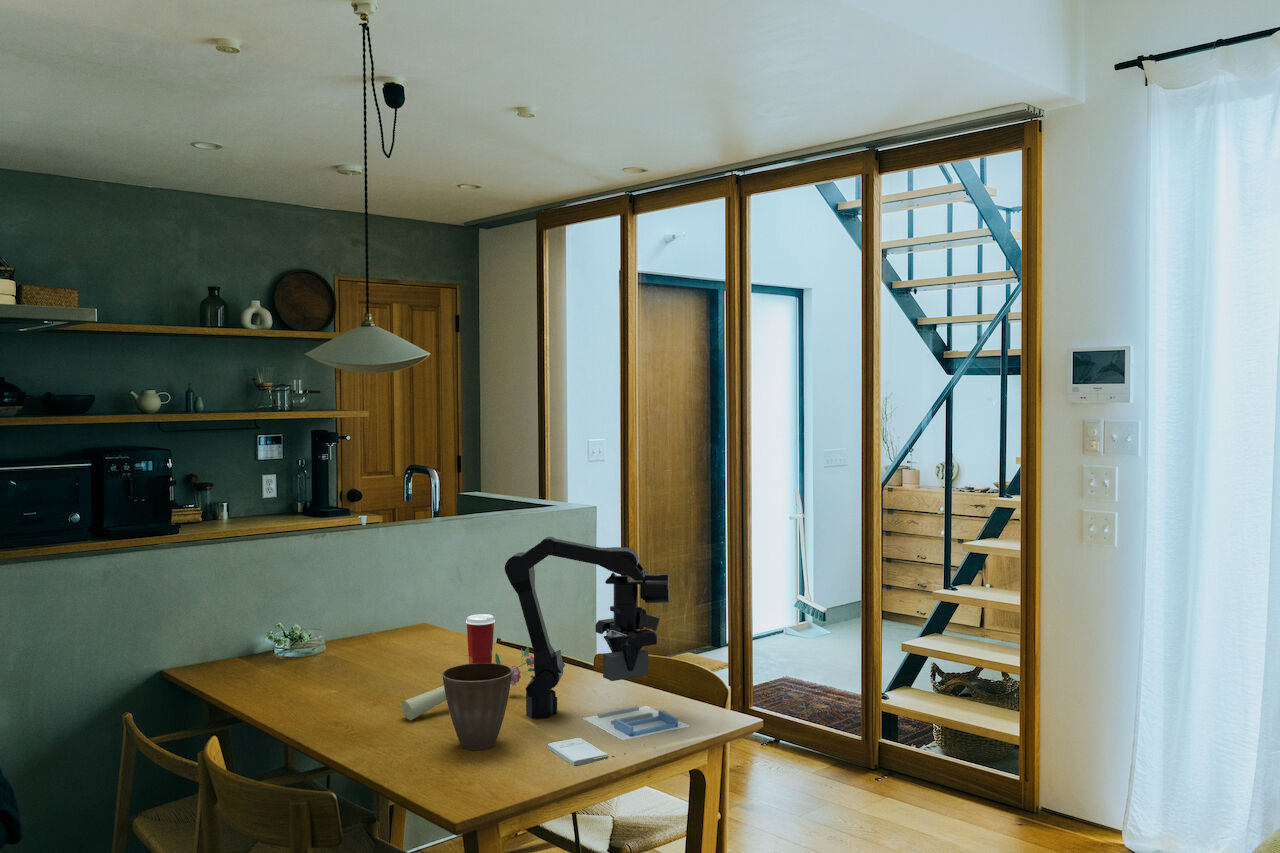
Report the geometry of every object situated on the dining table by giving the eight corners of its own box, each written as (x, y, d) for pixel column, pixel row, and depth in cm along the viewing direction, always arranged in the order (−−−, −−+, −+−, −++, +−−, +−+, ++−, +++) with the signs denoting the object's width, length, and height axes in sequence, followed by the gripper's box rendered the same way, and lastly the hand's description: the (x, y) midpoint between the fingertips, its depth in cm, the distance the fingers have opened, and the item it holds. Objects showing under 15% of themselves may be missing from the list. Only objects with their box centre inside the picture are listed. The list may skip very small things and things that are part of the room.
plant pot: (450, 760, 203) (450, 684, 203) (435, 738, 217) (435, 666, 217) (520, 751, 209) (520, 676, 209) (501, 729, 223) (501, 660, 223)
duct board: (622, 743, 214) (622, 731, 214) (582, 721, 229) (582, 709, 229) (689, 729, 224) (690, 717, 224) (646, 709, 239) (646, 697, 239)
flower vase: (408, 746, 234) (525, 686, 257) (431, 744, 224) (550, 682, 248) (392, 699, 234) (509, 644, 257) (413, 695, 225) (533, 638, 248)
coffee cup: (501, 669, 275) (501, 615, 275) (481, 675, 268) (481, 621, 268) (478, 664, 280) (478, 612, 279) (458, 671, 273) (458, 617, 272)
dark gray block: (611, 681, 226) (611, 657, 226) (603, 677, 229) (603, 653, 229) (648, 674, 231) (648, 651, 231) (639, 671, 234) (639, 648, 234)
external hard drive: (573, 768, 201) (547, 750, 211) (608, 761, 205) (580, 743, 216) (573, 760, 201) (547, 742, 211) (608, 753, 205) (580, 736, 216)
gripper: (676, 605, 226) (676, 672, 226) (633, 592, 242) (633, 655, 242) (636, 610, 220) (635, 680, 220) (594, 597, 236) (594, 662, 236)
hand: (625, 668), depth 230 cm, fingers closed on dark gray block, 4 cm apart
